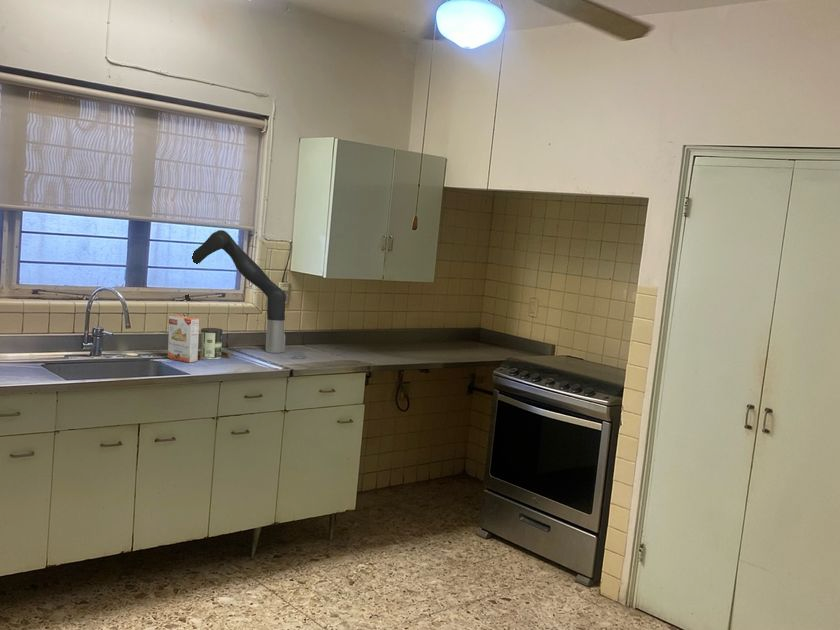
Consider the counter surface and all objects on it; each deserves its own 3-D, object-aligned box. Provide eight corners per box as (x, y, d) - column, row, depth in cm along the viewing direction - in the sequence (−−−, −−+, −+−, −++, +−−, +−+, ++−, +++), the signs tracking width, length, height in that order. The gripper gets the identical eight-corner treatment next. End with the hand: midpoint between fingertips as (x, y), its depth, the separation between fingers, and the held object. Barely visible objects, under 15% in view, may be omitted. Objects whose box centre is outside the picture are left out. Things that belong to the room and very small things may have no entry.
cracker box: (166, 359, 377) (168, 315, 375) (176, 357, 382) (177, 314, 380) (188, 363, 371) (190, 319, 368) (198, 361, 376) (199, 318, 374)
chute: (220, 354, 398) (220, 350, 398) (230, 358, 391) (230, 353, 391) (190, 356, 388) (191, 351, 387) (200, 360, 380) (200, 355, 380)
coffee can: (217, 355, 396) (219, 327, 395) (224, 359, 388) (225, 330, 386) (197, 355, 391) (198, 327, 389) (203, 359, 382) (204, 330, 381)
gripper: (173, 292, 404) (183, 319, 396) (198, 292, 413) (207, 319, 405) (169, 301, 409) (178, 328, 401) (193, 301, 417) (202, 328, 410)
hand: (193, 323), depth 403 cm, fingers closed
